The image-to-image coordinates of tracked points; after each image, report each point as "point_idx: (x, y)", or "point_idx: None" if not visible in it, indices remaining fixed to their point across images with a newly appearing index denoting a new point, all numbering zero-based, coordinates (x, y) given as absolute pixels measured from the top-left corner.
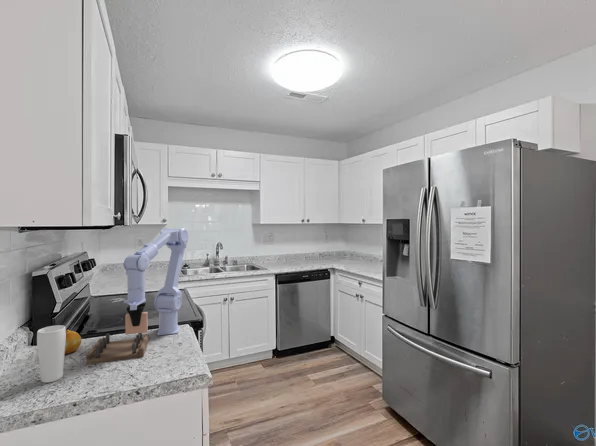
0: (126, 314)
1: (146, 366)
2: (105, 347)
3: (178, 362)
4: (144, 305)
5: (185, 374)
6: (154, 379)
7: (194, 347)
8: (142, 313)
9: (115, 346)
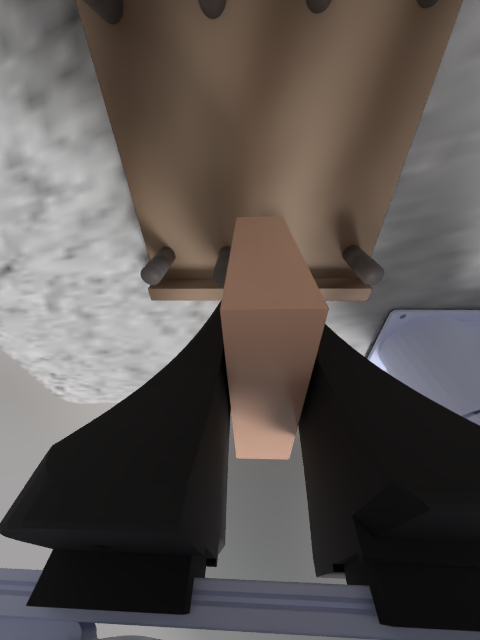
0: (261, 318)
1: (83, 302)
2: (307, 3)
3: (117, 369)
4: (312, 544)
5: (53, 380)
6: (6, 329)
7: None
8: (240, 440)
9: (302, 109)
